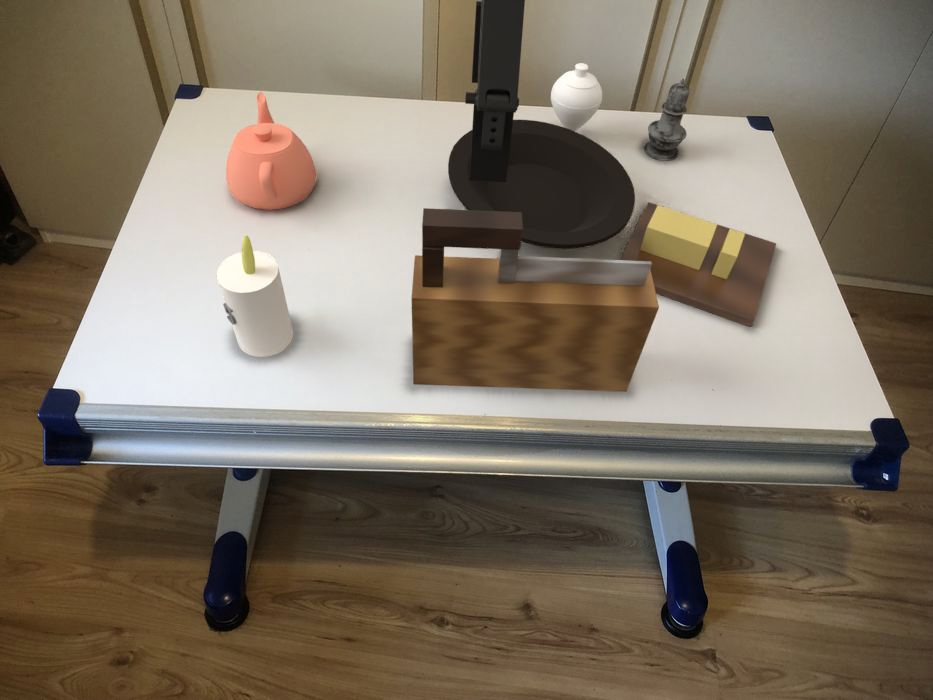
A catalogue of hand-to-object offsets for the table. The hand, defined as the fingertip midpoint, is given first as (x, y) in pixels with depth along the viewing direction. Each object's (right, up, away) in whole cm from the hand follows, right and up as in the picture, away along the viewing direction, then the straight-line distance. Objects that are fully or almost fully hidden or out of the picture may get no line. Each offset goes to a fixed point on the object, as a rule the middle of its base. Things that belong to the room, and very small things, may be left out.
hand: (487, 126), depth 55 cm
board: (+29, -6, +36) cm, 47 cm away
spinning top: (+14, +16, +54) cm, 58 cm away
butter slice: (+32, -7, +35) cm, 48 cm away
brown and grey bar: (+5, -11, +13) cm, 18 cm away
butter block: (+26, -4, +36) cm, 45 cm away
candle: (-25, -17, +25) cm, 39 cm away
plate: (+8, +2, +42) cm, 43 cm away
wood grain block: (+4, -20, +24) cm, 31 cm away
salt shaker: (+29, +13, +53) cm, 61 cm away
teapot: (-29, +6, +43) cm, 52 cm away
